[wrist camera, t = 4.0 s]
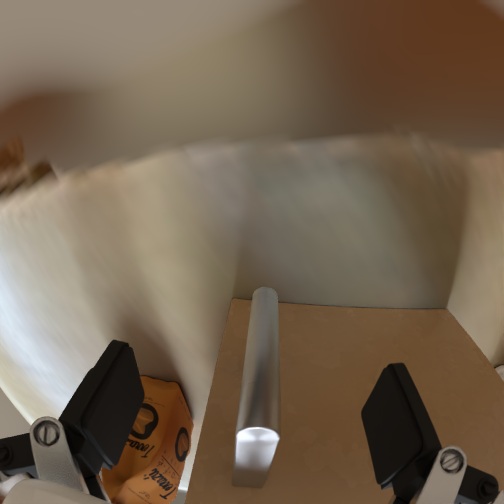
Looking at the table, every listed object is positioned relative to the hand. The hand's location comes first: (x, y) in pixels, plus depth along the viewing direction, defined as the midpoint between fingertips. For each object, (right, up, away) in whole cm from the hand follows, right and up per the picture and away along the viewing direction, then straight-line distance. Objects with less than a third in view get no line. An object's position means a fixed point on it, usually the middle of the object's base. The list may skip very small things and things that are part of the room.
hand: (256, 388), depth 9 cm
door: (+11, +2, +18) cm, 21 cm away
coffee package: (-13, -18, +27) cm, 35 cm away
